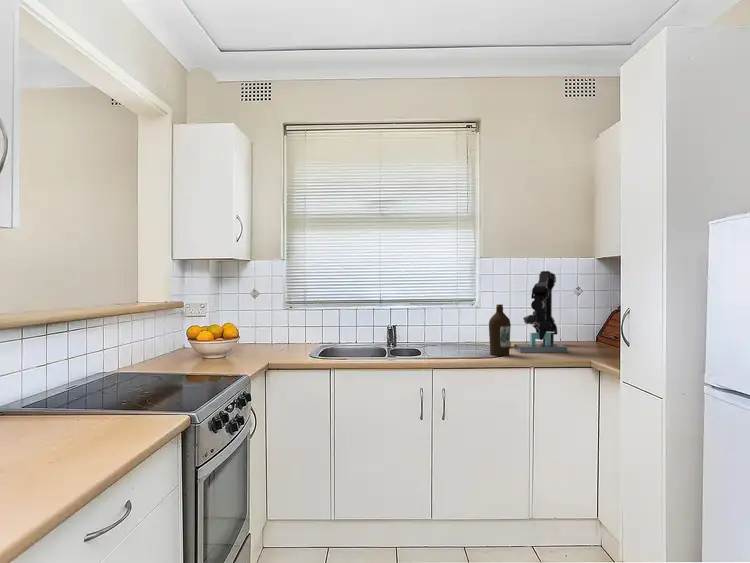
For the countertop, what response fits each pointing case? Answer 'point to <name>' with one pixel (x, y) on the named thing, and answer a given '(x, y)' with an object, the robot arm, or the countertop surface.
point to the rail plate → (540, 348)
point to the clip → (536, 336)
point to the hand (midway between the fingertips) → (540, 339)
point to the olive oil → (499, 333)
